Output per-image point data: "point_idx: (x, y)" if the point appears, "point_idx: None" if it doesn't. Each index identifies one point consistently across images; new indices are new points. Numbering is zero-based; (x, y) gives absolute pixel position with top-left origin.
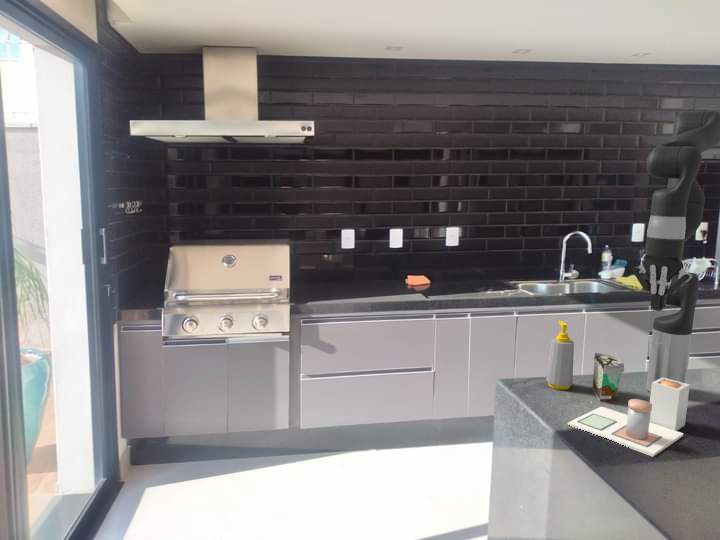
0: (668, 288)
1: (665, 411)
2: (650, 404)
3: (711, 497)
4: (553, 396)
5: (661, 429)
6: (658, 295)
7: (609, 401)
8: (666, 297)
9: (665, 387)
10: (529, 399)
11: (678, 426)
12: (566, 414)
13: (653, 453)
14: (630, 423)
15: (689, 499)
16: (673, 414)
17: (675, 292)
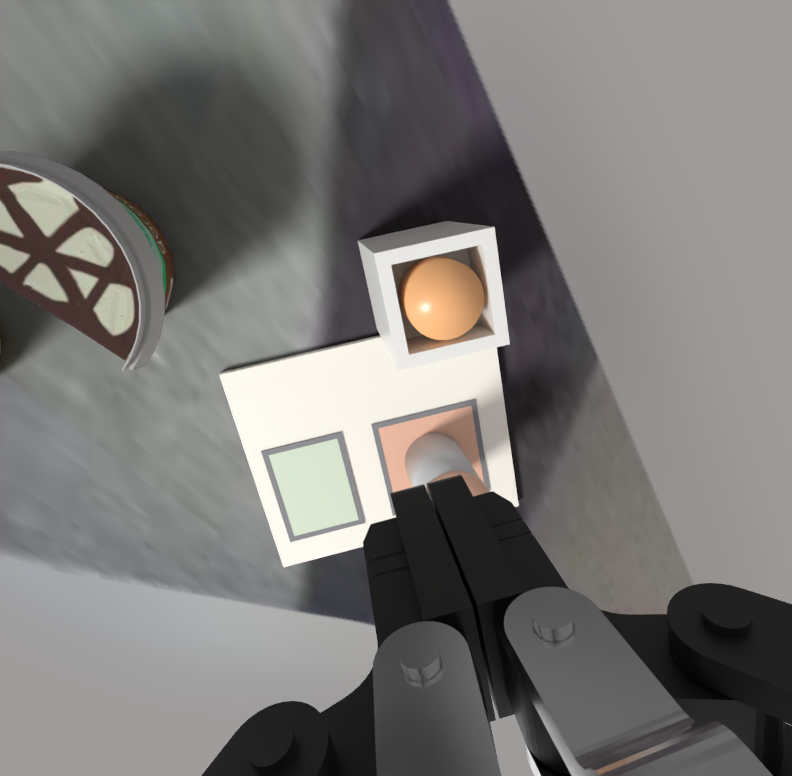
0: (649, 687)
1: None
2: (484, 492)
3: (669, 536)
4: (58, 442)
5: None
6: (512, 713)
7: (174, 281)
8: (561, 584)
9: (452, 355)
10: (62, 537)
11: None
12: (218, 512)
13: (516, 502)
14: None
15: (647, 579)
16: None
17: (726, 587)
